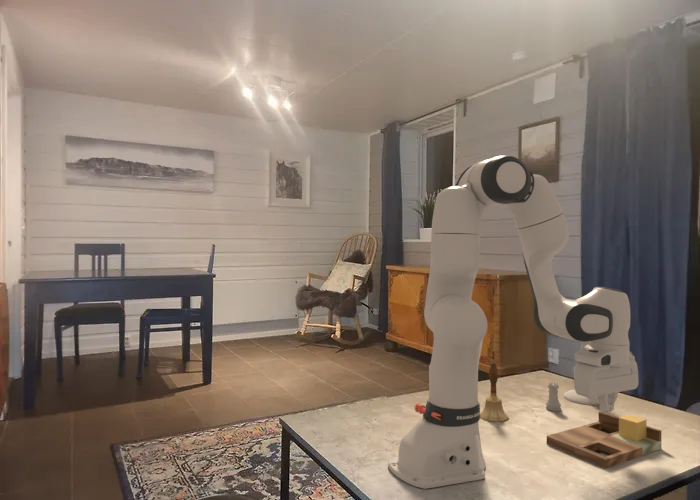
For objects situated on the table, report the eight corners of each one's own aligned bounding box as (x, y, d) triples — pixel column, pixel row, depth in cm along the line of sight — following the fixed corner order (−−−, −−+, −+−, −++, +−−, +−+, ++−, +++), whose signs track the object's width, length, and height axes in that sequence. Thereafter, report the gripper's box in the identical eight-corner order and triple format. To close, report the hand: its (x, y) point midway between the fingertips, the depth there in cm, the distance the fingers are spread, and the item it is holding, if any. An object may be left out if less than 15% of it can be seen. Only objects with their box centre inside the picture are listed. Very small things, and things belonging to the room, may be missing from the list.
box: (606, 468, 109) (606, 448, 109) (546, 443, 123) (546, 426, 123) (661, 448, 120) (661, 430, 120) (600, 428, 134) (600, 411, 134)
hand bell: (473, 415, 145) (473, 361, 145) (493, 410, 149) (493, 358, 149) (494, 424, 137) (494, 367, 137) (514, 418, 141) (514, 364, 141)
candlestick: (559, 392, 167) (558, 305, 167) (598, 393, 166) (598, 305, 166) (570, 404, 155) (570, 310, 155) (613, 405, 153) (613, 310, 153)
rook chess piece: (562, 412, 147) (562, 385, 147) (547, 411, 148) (547, 384, 148) (559, 407, 151) (559, 381, 151) (544, 406, 152) (544, 381, 152)
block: (637, 441, 120) (637, 422, 120) (618, 435, 123) (618, 417, 123) (646, 437, 122) (646, 419, 122) (628, 431, 126) (628, 414, 126)
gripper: (621, 348, 126) (620, 401, 126) (569, 354, 116) (568, 412, 116) (646, 353, 121) (644, 408, 121) (594, 360, 111) (592, 420, 111)
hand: (606, 410), depth 118 cm, fingers closed
